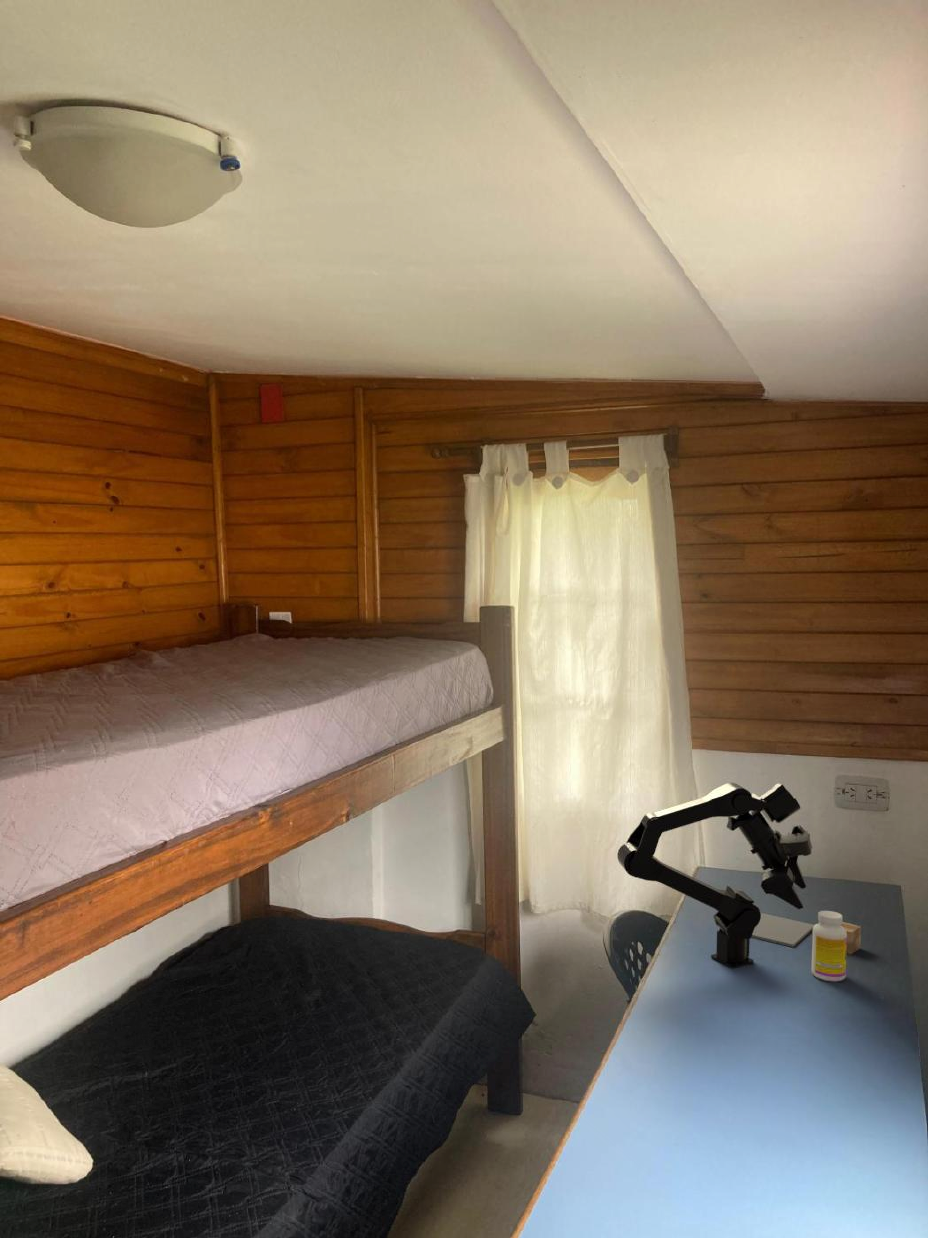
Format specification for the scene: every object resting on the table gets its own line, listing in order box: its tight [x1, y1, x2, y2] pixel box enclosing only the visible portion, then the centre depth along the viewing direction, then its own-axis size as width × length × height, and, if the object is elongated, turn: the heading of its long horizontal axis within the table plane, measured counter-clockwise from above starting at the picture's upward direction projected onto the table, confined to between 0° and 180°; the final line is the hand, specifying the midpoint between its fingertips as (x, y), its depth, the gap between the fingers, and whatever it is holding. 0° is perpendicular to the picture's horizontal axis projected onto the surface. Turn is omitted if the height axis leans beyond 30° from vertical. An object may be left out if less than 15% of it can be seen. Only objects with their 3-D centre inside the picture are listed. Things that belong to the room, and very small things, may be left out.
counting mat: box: [751, 912, 815, 948], centre depth 221 cm, size 16×16×1 cm
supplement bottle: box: [811, 910, 847, 982], centre depth 194 cm, size 7×7×13 cm
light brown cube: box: [841, 921, 862, 955], centre depth 210 cm, size 5×5×5 cm
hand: (802, 898), depth 200 cm, fingers open, 9 cm apart
